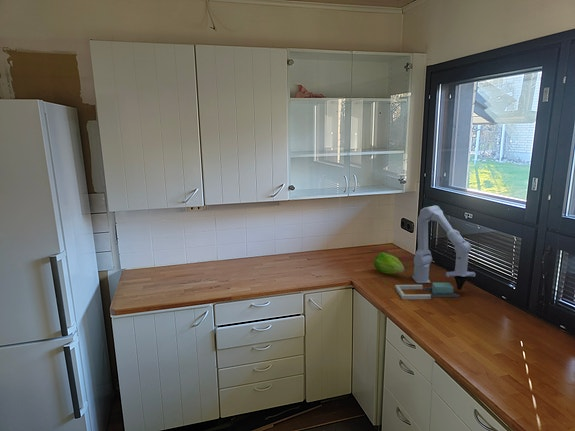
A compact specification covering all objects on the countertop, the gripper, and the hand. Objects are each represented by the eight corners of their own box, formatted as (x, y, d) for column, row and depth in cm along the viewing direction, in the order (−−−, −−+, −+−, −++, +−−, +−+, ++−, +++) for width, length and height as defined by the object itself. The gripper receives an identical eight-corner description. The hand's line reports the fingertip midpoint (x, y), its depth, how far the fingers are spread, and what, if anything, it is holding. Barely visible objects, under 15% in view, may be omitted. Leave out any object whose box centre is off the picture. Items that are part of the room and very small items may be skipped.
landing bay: (395, 288, 209) (395, 284, 208) (421, 288, 209) (421, 284, 208) (402, 299, 195) (402, 295, 195) (430, 299, 195) (430, 295, 195)
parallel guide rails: (424, 289, 206) (424, 287, 206) (451, 289, 206) (452, 287, 206) (430, 297, 197) (430, 294, 197) (459, 297, 197) (459, 294, 197)
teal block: (431, 291, 205) (432, 282, 204) (449, 291, 204) (449, 282, 203) (435, 296, 199) (435, 287, 198) (452, 296, 198) (453, 287, 197)
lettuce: (393, 282, 217) (394, 262, 215) (369, 271, 234) (369, 253, 231) (410, 277, 225) (411, 257, 222) (385, 267, 241) (385, 249, 239)
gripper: (450, 267, 194) (448, 292, 197) (479, 267, 194) (476, 292, 197) (445, 262, 201) (443, 286, 204) (472, 262, 201) (470, 286, 204)
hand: (459, 289), depth 201 cm, fingers closed
